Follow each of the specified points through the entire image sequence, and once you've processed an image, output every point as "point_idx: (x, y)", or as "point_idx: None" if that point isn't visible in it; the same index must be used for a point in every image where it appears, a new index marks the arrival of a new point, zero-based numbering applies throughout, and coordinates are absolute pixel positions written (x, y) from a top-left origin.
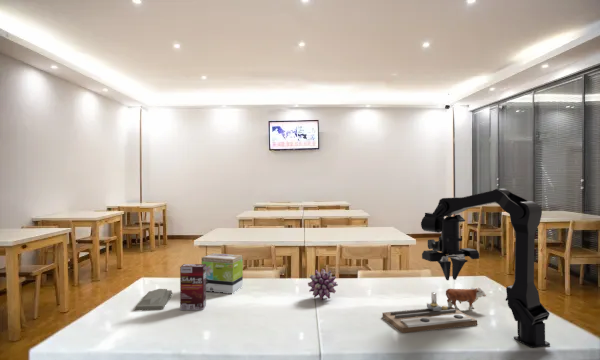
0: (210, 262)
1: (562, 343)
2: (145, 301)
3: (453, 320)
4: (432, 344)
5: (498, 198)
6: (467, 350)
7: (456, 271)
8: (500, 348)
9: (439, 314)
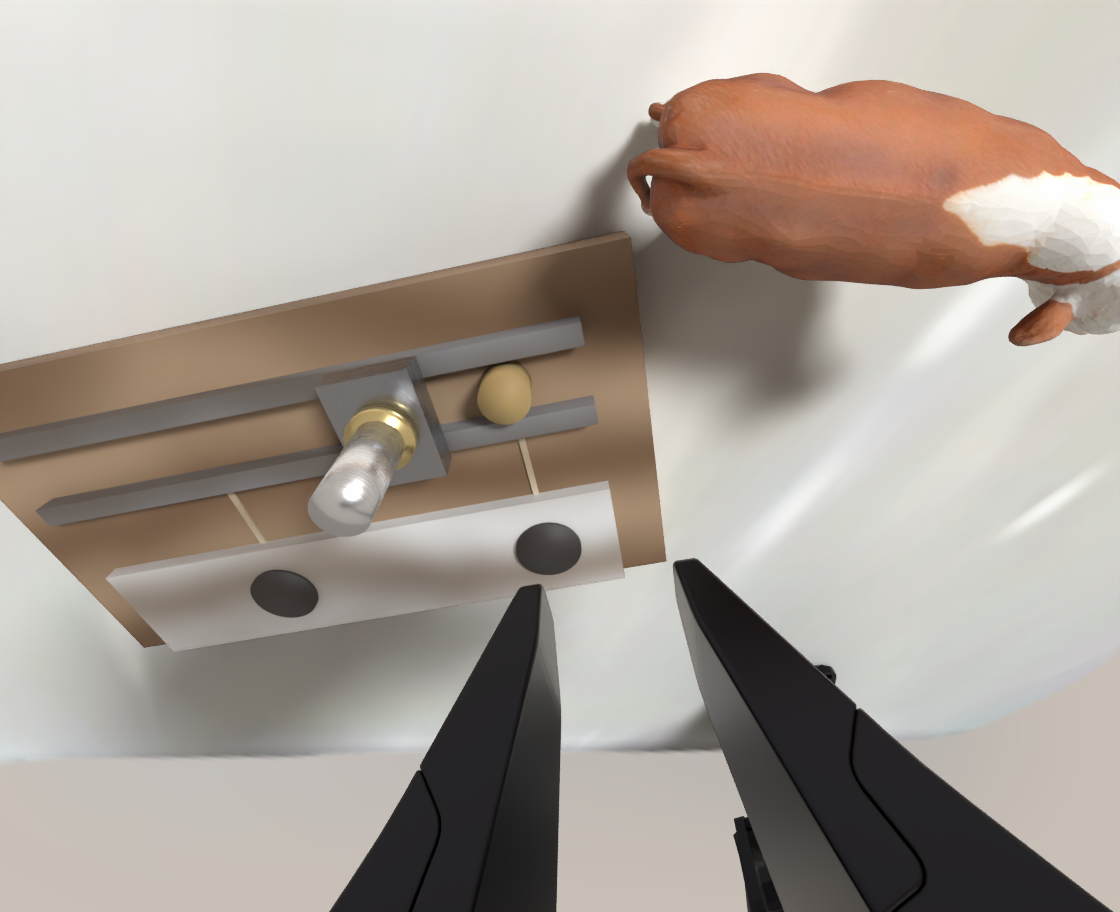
0: None
1: (893, 708)
2: None
3: (486, 598)
4: (319, 712)
5: None
6: None
7: (746, 806)
8: (601, 736)
9: None
